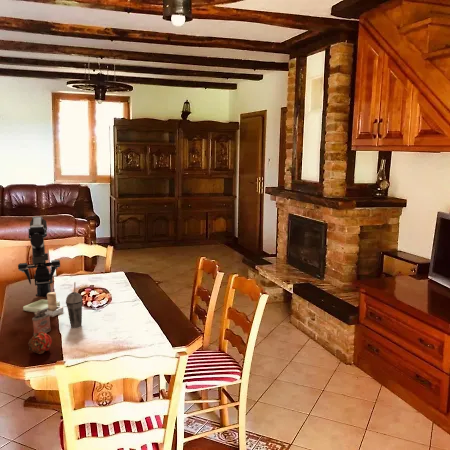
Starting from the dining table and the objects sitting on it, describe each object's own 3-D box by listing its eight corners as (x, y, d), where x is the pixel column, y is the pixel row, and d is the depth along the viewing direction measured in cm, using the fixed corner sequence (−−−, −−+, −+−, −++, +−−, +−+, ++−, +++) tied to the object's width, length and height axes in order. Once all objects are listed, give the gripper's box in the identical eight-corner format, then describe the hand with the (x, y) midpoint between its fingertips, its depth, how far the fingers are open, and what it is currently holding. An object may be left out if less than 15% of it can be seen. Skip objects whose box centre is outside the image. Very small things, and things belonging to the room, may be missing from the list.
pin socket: (52, 310, 237) (52, 305, 237) (63, 312, 235) (63, 307, 234) (42, 314, 231) (41, 309, 231) (53, 316, 228) (52, 311, 228)
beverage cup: (64, 327, 214) (60, 284, 211) (76, 322, 221) (72, 279, 217) (76, 330, 211) (72, 286, 208) (88, 324, 217) (85, 281, 214)
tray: (41, 302, 249) (41, 299, 248) (59, 305, 244) (59, 301, 244) (23, 310, 238) (23, 306, 238) (42, 313, 233) (41, 309, 233)
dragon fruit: (40, 362, 184) (39, 354, 195) (57, 346, 187) (56, 339, 198) (24, 347, 182) (24, 340, 193) (42, 330, 184) (41, 324, 196)
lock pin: (52, 311, 235) (51, 291, 234) (59, 312, 234) (57, 292, 232) (46, 314, 232) (45, 294, 230) (53, 315, 230) (51, 295, 229)
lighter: (37, 336, 205) (34, 313, 204) (31, 334, 207) (29, 312, 205) (52, 330, 212) (50, 308, 210) (47, 328, 214) (45, 306, 212)
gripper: (16, 249, 224) (18, 283, 221) (58, 246, 230) (61, 278, 227) (18, 254, 234) (20, 286, 231) (59, 250, 240) (61, 281, 237)
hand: (40, 283), depth 231 cm, fingers open, 9 cm apart
